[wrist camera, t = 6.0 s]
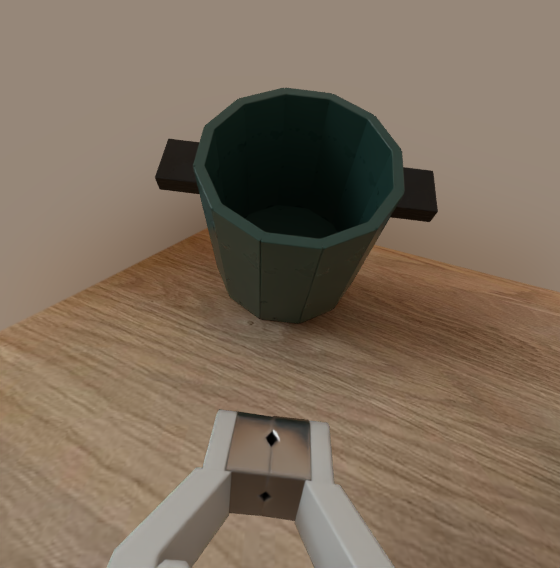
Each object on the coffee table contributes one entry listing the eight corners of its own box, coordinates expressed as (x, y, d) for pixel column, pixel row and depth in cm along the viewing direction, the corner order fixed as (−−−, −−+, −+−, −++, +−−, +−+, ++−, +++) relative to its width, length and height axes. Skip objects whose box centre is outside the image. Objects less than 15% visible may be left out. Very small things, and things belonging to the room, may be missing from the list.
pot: (177, 309, 25) (123, 225, 16) (206, 195, 30) (179, 74, 20) (381, 333, 26) (459, 265, 16) (378, 216, 30) (437, 105, 20)
